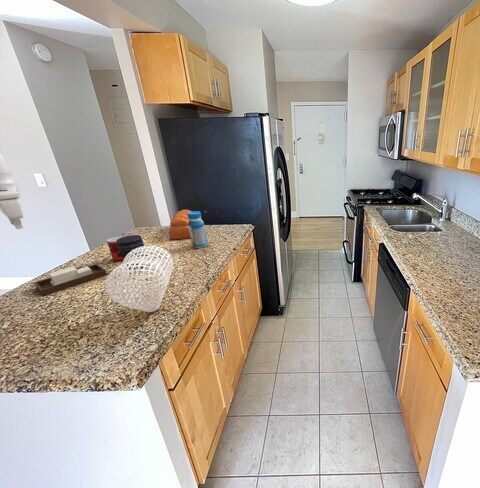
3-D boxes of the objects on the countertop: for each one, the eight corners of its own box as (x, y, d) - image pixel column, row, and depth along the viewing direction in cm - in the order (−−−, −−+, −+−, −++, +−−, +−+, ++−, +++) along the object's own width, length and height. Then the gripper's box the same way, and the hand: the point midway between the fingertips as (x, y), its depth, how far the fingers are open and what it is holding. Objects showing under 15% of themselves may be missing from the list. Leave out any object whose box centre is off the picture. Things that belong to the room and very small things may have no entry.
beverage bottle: (200, 249, 147) (194, 215, 140) (189, 247, 150) (181, 213, 142) (211, 243, 155) (205, 211, 147) (200, 242, 157) (193, 210, 150)
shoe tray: (43, 296, 104) (40, 290, 103) (36, 287, 110) (34, 282, 109) (107, 274, 120) (105, 269, 119) (98, 268, 126) (96, 263, 125)
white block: (55, 287, 108) (50, 277, 106) (51, 284, 111) (46, 273, 109) (93, 275, 118) (90, 265, 116) (89, 272, 121) (85, 262, 119)
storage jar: (144, 260, 133) (136, 233, 128) (153, 265, 128) (145, 237, 122) (122, 268, 126) (112, 239, 120) (130, 273, 121) (120, 244, 115)
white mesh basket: (170, 330, 85) (152, 269, 76) (113, 341, 80) (88, 278, 72) (184, 287, 109) (172, 238, 101) (141, 293, 105) (125, 243, 96)
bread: (200, 223, 192) (197, 206, 187) (195, 237, 164) (191, 217, 159) (177, 225, 187) (173, 208, 182) (168, 240, 160) (163, 220, 155)
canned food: (119, 255, 139) (112, 236, 135) (134, 254, 140) (128, 235, 136) (109, 261, 132) (102, 241, 128) (126, 261, 133) (119, 241, 129)
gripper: (-15, 190, 102) (1, 223, 107) (-8, 196, 92) (10, 233, 97) (9, 188, 107) (23, 220, 112) (19, 193, 96) (34, 228, 102)
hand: (17, 226), depth 104 cm, fingers open, 8 cm apart
